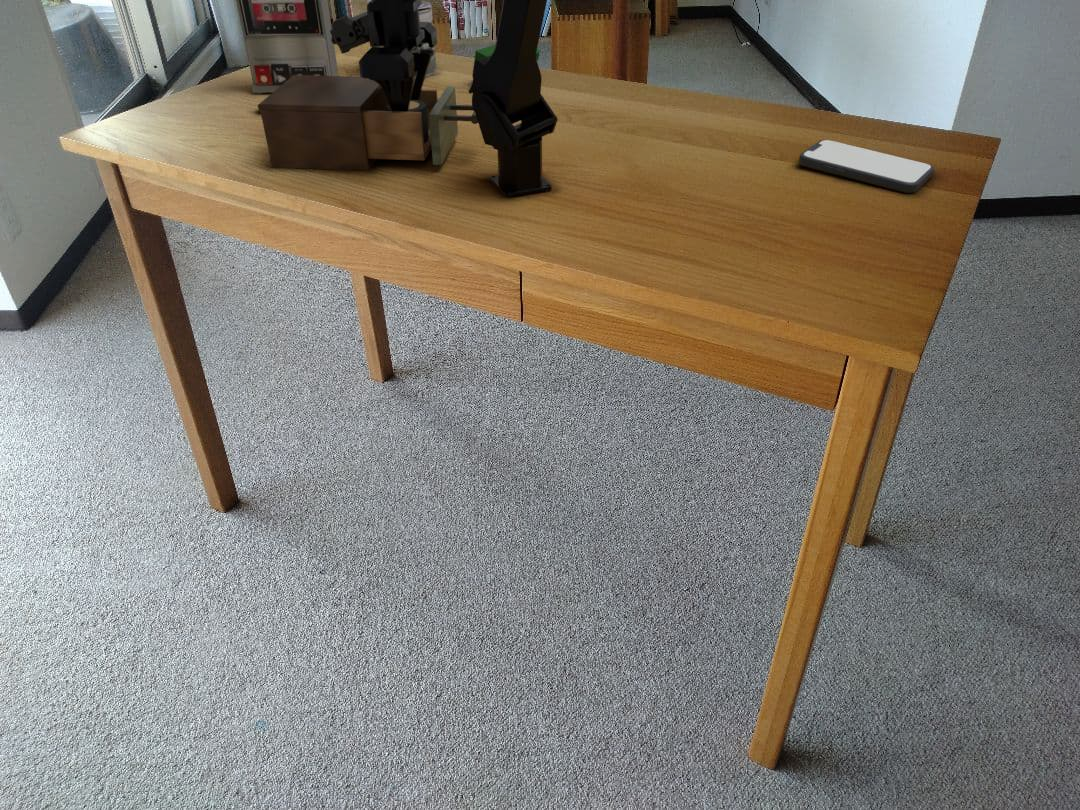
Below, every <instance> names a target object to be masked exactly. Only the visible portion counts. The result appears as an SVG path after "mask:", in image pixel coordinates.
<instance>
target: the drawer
mask: <svg viewBox="0 0 1080 810" xmlns="http://www.w3.org/2000/svg"><path fill="white" fill-rule="evenodd" d="M419 101H422V102H424V103H425V104H426V112H427V123H428V135H429V140H428V141H427V142H426V143H424V136H423V125H422V114H421V112H405V111H386V105H387V104H388V103H389V102H388V100H387V97H386V95H385V93H384V90H383V88H382V89H381V90H380V91H379V92H378V93H377V94H376V95H375V97H374V98H373V99H372V100H371V101H370V102H369V104H368V105H367V106H366V107H365V108H364V109H363V111H362V112H363V119H364V127H365V134H366V142H367V150H368V157H369V159H377V160H396V161H397V160H400V161H425V160H426V158H427V157H428V155H429V153H430V151H431V155H432V156H431V157H432V165H434V166H442V165H443V163H444V162H445V160H446V158H447V156H448V154H449V152H450V150H451V148H452V146H453V145H454V142H455V140H456V139H457V137H458V135H459V127H458V122H471V124H473V125H477V124H479V123H478V120H477V117H476V114H475V111H473V108H472V104H457V93H456V86H446V87H445V89H444V90H443V92H442V93H441V94H440V97H439V98H438V89H437V88H422V90H421V93H420V96H419ZM458 111H470V112H471V111H473V112H472V114H471V115H468V114H467V115H465V114H458Z"/></svg>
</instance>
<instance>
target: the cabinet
mask: <svg viewBox="0 0 1080 810" xmlns="http://www.w3.org/2000/svg"><path fill="white" fill-rule="evenodd" d="M381 89H382V87H381V86H380V85H379V84H378V83H377V82H375V81H374V80H370V79H369V78H362V77H361V76H355V75H354V76H351V75H349V76H348V75H340V76H316V75H293V76H292V77H291V78H290V79H289V80H287V81H286V82H285V83H284V84H283V85H281V86H280V87H279V88H278V89H276V90H275V91H274V92H271V93H270V94H269V95H268V96H267V97H266V98H264V99H263V100H262V101H260V102H259V106H260V111H259V112H260V116H261V120H262V126H263V130H264V136H265V140H266V141H265V142H266V144H267V151H268V155H269V161H270V164H271V168H278V169H305V170H307V169H308V170H331V171H336V170H337V171H338V170H339V171H361V172H363V171H364V172H367V171H368V172H369V171H370V169H371V168H372V167H373V165H374V164H375V162H376V161H377V160H378V159H369V157H368V150H367V142H366V134H365V127H364V119H363V112H362V111H363V109H364V108H365V107H366V106H367V105H368V104H369V102H370V101H371V100H372V99H373V98H374V97H375V95H376V94H377V93H378V92H379V91H380V90H381Z"/></svg>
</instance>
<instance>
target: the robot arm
mask: <svg viewBox="0 0 1080 810" xmlns="http://www.w3.org/2000/svg"><path fill="white" fill-rule="evenodd" d="M422 1H423V0H371V1H370V2H369V4H367V3H366V11H365V12H361V13H360V14H357V15H354V16H352V17H349V16H348V15H343V16H342V17H340V18H336V19H334V20H333V21H331V25H332V29H331V31H330V33H331V35H332V38H331V42H332V43H333V44H334V45H336V46H337V47H338V48H339V50H340V53H341V54H342V55H343V54H347V53H349V52H350V51H351V50H352V49H355V48H358V47H359V46H362V45H365V44H367V43H369V46H370V48H369V49H368V50H367V51H366V52H365V53H364V54H363V55H362V57H360V59H359V60H358V67H359V68H358V69H359V77H362V78H369V79H370V80H374V81H375V82H377V83H378V84H379V85H380V86H381V87H382V88H383V90H384V93H385V95H386V97H387V100H388V102H389V105H390V107H391V110H392V111H405V112H408V109H409V105H410V100H419V96H420V93H421V90H422V89H423V86H424V83H425V79H426V77H425V76H426V73H427V70H428V67H429V64H430V60H431V57H432V54H433V51H434V50H433V49H423V44H420V43H428V45H429V47H434V46H436V45H437V44H438V34H437V28H436V27H435V26H434V24H433V25H432V24H431V23H430V22H420V19H419V6H420V5H421V4H422ZM547 3H548V0H503V1H502V8H501V13H500V19H499V25H498V31H497V36H496V41H495V44H496V46H495V49H494V52H493V53H492V55H490V56H487V57H484V58H481V59H478V60H476V61H475V64H474V63H473V68H472V75H473V77H472V83H471V86H470V87H469V89H468V94H472V95H471V105H472V108H473V112H474V111H475V114H476V117H477V120H478V123H477V124H478V126H479V130H480V134H481V136H482V140H483V143H484V144H485V145H488V146H491V147H492V148H493V150H496V151H497V174H493V175H489V181H490V182H491V184H493V186H495V188H496V189H497V190H498V191H499V192H500V193H501V194H502V195H503V197H505V198H507V197H508V198H509V197H515V196H522V195H528V194H534V193H540V192H546V191H551V190H552V189H553V185H552V184H551V183H550V182H549V181H548V180H547V179H546V178H545V177H543V137H545V136H547V135H550V134H553V133H554V132H555V129H556V126H557V123H558V117H557V115H556V114H555V112H554V111H553V110H552V107H550V105H549V103H547V101H546V99H545V97H544V96H543V95H542V79H543V78H542V73H541V70H540V68H539V63H538V61H537V59H536V51H537V49H538V45H539V41H540V36H541V32H542V27H543V23H544V22H543V21H544V18H545V12H546V7H547ZM379 46H383V47H379ZM518 122H520V123H518ZM514 124H515V125H514Z"/></svg>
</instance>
